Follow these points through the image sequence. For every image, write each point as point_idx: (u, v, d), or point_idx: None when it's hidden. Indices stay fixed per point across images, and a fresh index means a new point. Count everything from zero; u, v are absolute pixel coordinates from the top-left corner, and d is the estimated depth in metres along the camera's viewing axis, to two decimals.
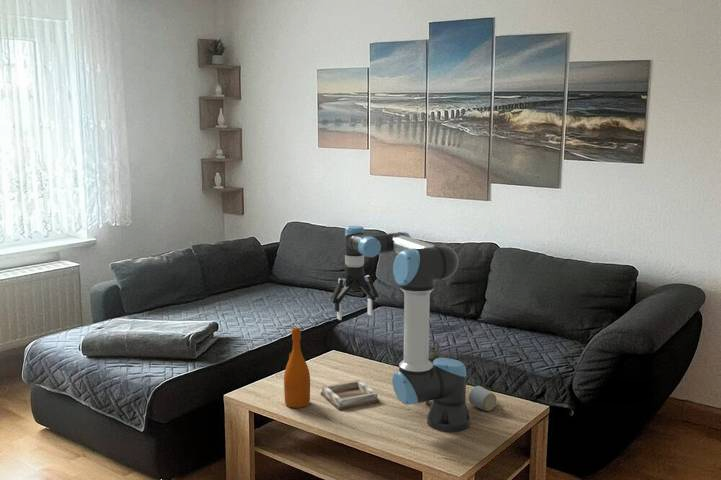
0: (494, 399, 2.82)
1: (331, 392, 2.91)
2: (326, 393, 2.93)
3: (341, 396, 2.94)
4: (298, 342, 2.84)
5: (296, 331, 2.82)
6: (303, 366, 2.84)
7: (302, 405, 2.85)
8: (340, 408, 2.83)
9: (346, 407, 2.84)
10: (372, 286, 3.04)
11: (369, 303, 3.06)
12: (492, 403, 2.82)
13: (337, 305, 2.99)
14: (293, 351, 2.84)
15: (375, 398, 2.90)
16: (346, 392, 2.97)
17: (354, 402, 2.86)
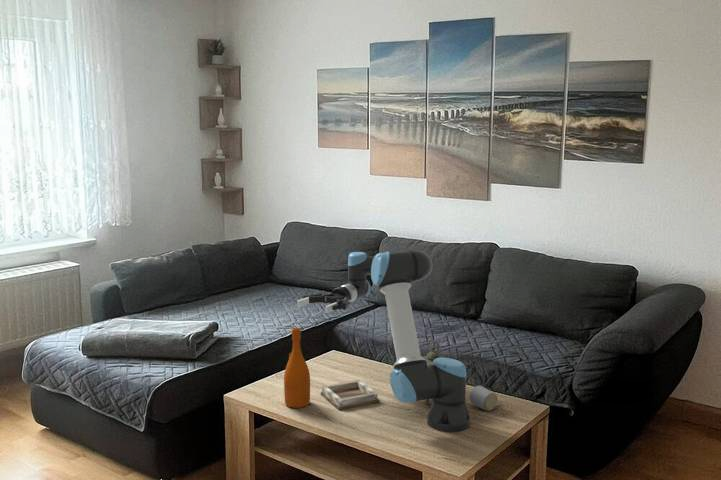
0: (495, 399, 2.82)
1: (331, 392, 2.91)
2: (326, 393, 2.93)
3: (341, 396, 2.94)
4: (298, 342, 2.84)
5: (296, 331, 2.82)
6: (303, 366, 2.84)
7: (302, 405, 2.85)
8: (340, 408, 2.83)
9: (346, 407, 2.84)
10: (345, 300, 2.96)
11: None
12: (493, 403, 2.82)
13: None
14: (293, 351, 2.84)
15: (375, 398, 2.90)
16: (346, 392, 2.97)
17: (354, 402, 2.86)
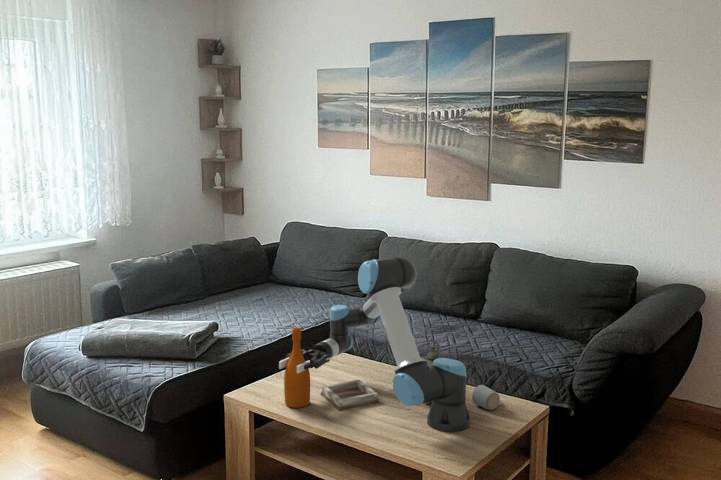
0: (497, 398, 2.83)
1: (331, 392, 2.91)
2: (326, 393, 2.93)
3: (341, 396, 2.94)
4: (298, 342, 2.83)
5: (296, 331, 2.82)
6: None
7: (302, 405, 2.85)
8: (340, 408, 2.83)
9: (346, 407, 2.84)
10: (321, 358, 2.89)
11: None
12: (495, 402, 2.83)
13: (287, 358, 2.90)
14: (293, 351, 2.84)
15: (375, 398, 2.90)
16: (346, 392, 2.97)
17: (354, 402, 2.86)
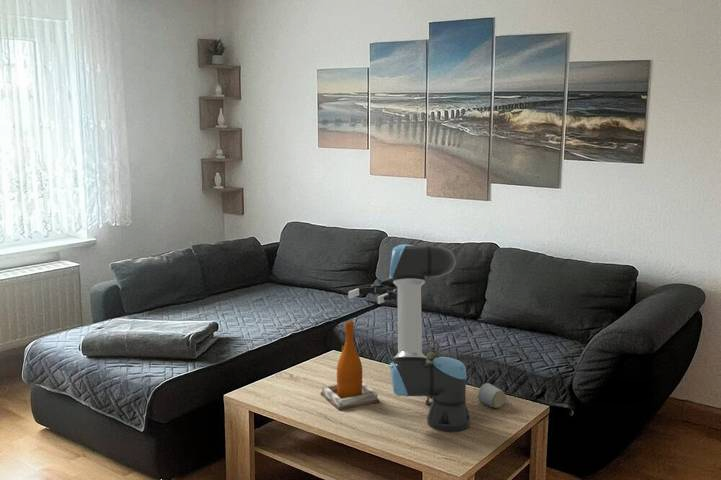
0: (503, 396, 2.85)
1: (331, 392, 2.91)
2: (326, 393, 2.93)
3: None
4: (351, 335, 2.88)
5: (350, 324, 2.87)
6: (356, 359, 2.89)
7: None
8: (340, 408, 2.83)
9: (346, 407, 2.84)
10: (395, 291, 3.01)
11: None
12: (501, 401, 2.85)
13: (355, 289, 3.04)
14: (346, 344, 2.89)
15: (375, 398, 2.90)
16: None
17: (354, 402, 2.86)
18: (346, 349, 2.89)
